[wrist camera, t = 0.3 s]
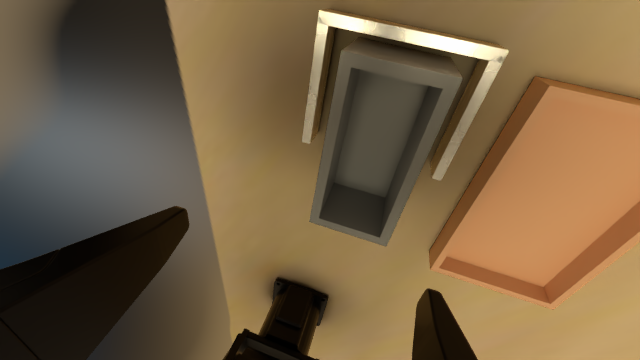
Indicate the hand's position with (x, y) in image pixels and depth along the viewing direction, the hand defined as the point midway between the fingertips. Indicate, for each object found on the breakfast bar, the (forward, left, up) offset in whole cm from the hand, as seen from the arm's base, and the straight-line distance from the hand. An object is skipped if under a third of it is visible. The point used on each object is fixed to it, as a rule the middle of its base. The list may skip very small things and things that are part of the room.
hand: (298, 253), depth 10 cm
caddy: (0, -2, -12) cm, 12 cm away
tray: (-2, -14, -12) cm, 18 cm away
